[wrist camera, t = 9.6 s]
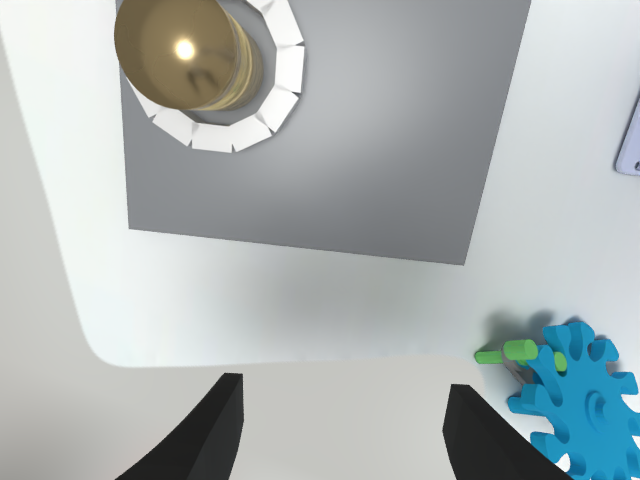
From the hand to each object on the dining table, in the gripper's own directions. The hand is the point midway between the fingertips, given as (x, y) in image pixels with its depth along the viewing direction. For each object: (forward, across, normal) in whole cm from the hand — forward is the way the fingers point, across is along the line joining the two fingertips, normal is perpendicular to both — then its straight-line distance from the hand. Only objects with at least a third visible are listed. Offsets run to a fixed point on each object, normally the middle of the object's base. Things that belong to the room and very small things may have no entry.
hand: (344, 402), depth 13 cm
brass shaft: (+9, +6, -11) cm, 16 cm away
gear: (+11, -14, +6) cm, 18 cm away
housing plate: (+10, +2, -9) cm, 14 cm away
